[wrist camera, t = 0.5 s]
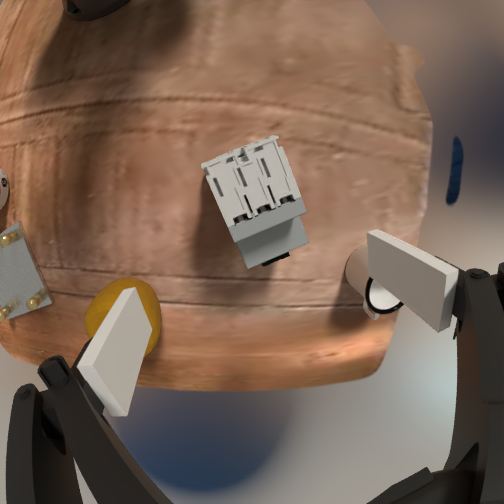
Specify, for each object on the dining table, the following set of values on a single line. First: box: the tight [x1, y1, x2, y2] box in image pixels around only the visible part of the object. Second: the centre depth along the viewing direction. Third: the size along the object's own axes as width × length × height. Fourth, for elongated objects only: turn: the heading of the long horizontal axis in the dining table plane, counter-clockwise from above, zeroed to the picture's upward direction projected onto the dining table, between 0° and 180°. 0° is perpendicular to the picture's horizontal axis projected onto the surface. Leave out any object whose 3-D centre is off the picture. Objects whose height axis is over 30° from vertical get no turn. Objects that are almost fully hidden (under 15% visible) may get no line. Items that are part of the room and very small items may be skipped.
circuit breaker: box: [201, 135, 309, 269], centre depth 33 cm, size 8×14×15 cm, turn 22°
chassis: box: [0, 221, 54, 323], centre depth 35 cm, size 16×16×5 cm
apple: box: [85, 278, 161, 358], centre depth 36 cm, size 11×11×13 cm
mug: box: [345, 245, 404, 319], centre depth 42 cm, size 12×10×9 cm
